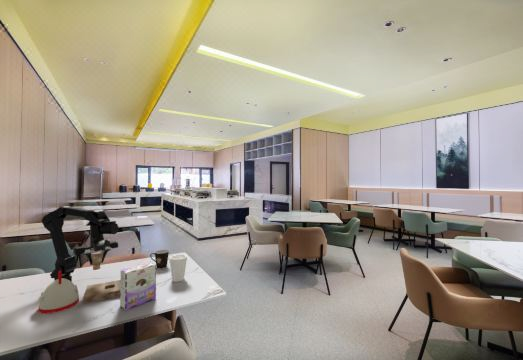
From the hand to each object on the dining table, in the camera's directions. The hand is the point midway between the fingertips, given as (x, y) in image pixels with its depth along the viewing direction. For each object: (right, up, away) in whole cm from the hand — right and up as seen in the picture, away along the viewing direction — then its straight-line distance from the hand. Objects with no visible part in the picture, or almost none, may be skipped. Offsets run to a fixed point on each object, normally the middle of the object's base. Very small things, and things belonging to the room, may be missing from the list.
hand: (96, 264), depth 124 cm
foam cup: (+38, -13, +12) cm, 42 cm away
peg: (0, -3, 0) cm, 2 cm away
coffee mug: (+19, -14, +33) cm, 41 cm away
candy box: (+29, -13, -14) cm, 35 cm away
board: (+8, -13, -6) cm, 16 cm away
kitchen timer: (-5, -13, -17) cm, 22 cm away
